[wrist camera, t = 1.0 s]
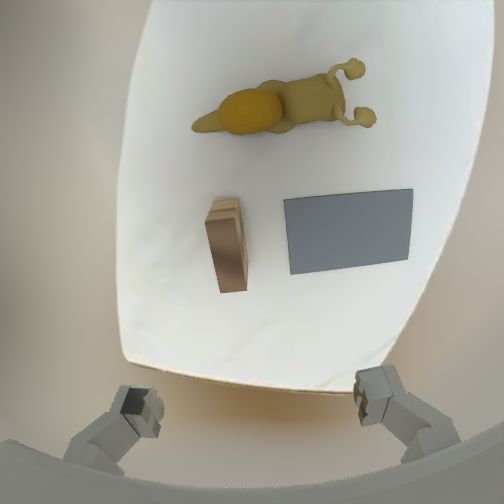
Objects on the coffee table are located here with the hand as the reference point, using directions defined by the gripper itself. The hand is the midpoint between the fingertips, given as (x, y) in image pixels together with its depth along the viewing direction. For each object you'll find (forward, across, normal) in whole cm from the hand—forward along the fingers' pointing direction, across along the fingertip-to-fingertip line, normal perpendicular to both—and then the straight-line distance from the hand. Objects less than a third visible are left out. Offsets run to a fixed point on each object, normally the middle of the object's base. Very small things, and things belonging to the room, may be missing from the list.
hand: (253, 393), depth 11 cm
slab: (+33, +4, +6) cm, 34 cm away
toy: (+33, -3, -11) cm, 35 cm away
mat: (+33, -14, +8) cm, 37 cm away
